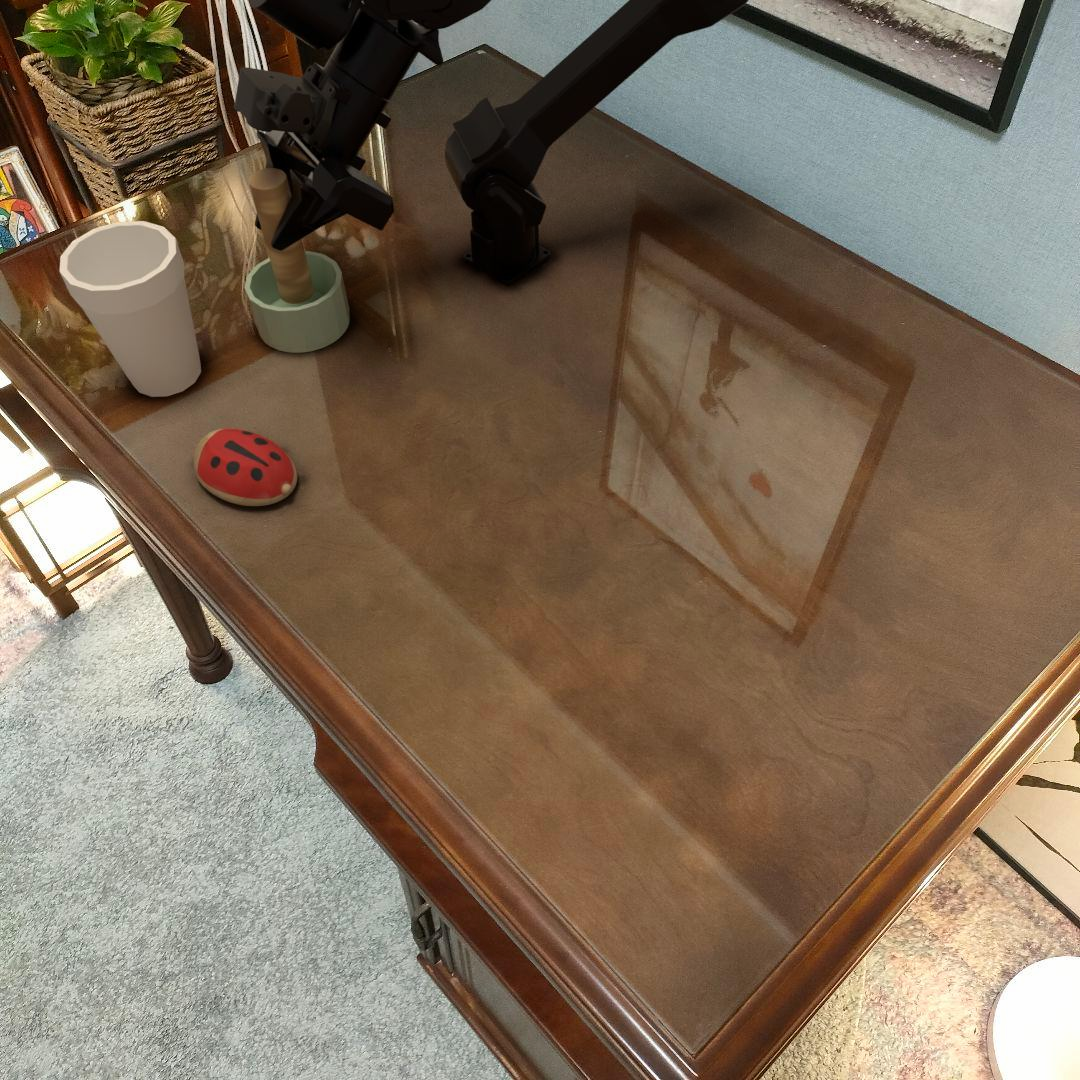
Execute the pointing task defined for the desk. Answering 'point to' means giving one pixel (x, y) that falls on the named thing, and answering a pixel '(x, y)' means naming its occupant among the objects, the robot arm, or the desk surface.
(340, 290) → the celadon cup
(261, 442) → the ladybug figurine
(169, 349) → the foam cup
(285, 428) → the desk surface
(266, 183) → the pestle
